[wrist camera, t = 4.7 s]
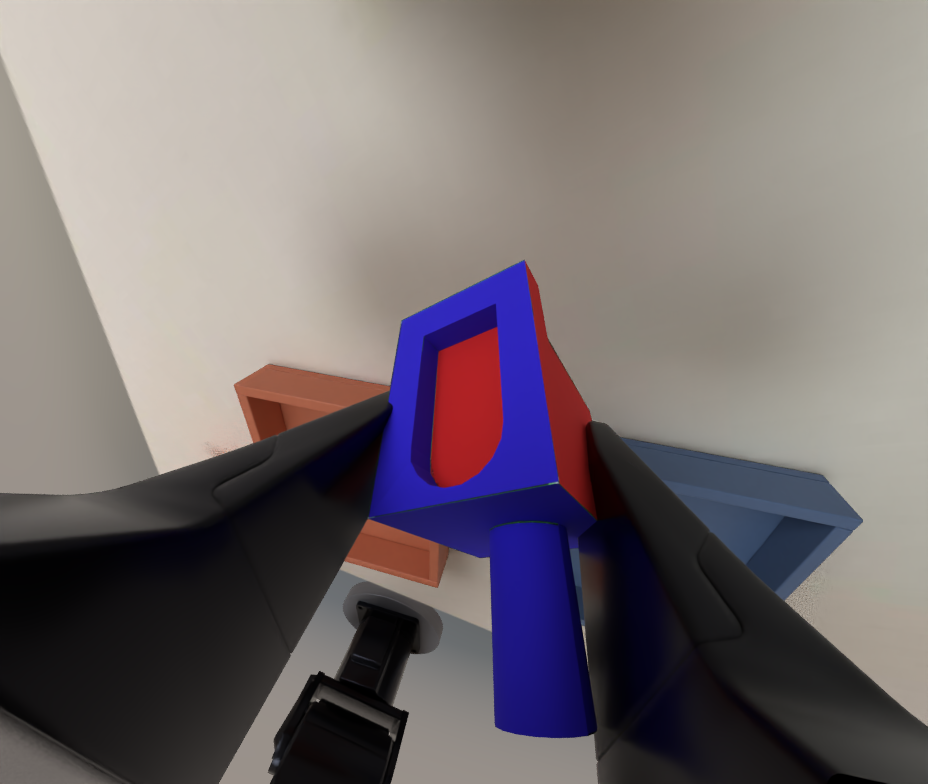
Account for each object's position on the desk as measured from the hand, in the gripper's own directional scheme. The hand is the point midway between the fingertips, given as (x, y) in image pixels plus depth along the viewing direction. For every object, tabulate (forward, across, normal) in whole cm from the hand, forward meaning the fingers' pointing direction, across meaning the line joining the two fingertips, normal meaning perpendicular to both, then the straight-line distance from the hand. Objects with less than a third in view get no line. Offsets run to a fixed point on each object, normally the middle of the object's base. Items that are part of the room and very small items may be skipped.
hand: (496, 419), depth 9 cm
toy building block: (+2, 0, 0) cm, 2 cm away
